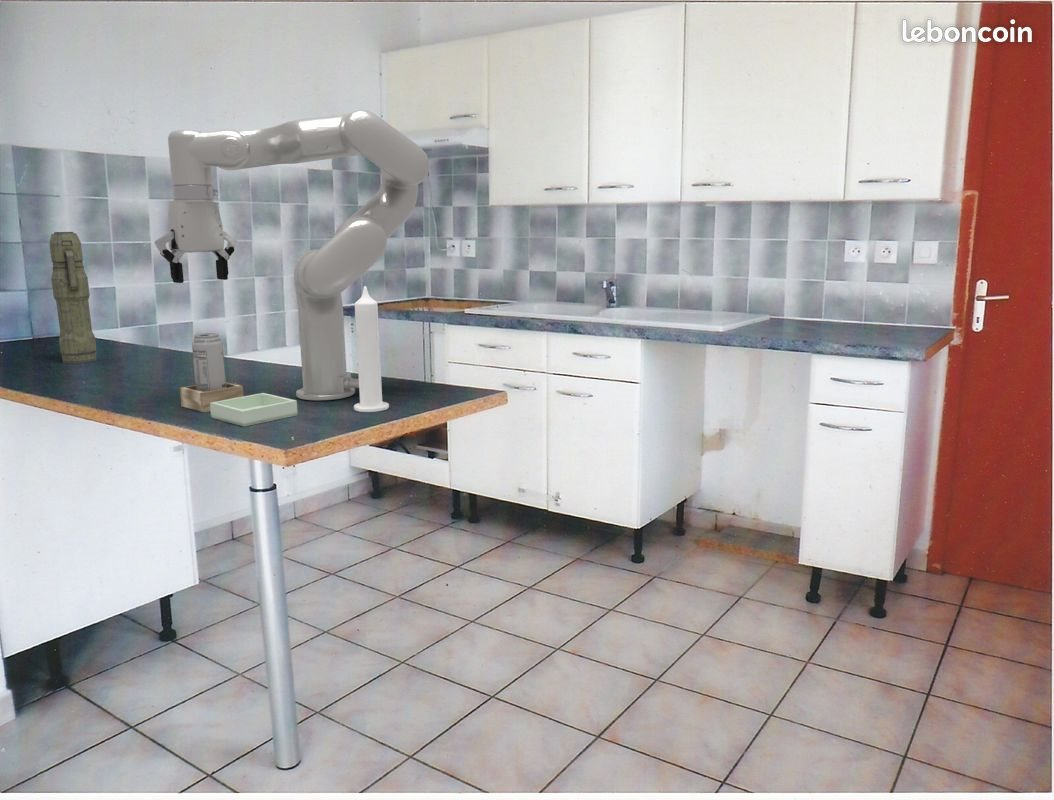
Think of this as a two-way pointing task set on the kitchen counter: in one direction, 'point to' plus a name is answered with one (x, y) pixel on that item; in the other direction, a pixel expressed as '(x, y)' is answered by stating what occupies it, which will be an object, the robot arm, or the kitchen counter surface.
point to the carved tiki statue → (72, 299)
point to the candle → (368, 355)
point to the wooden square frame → (208, 396)
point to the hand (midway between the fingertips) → (200, 281)
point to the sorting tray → (253, 409)
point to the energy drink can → (208, 362)
